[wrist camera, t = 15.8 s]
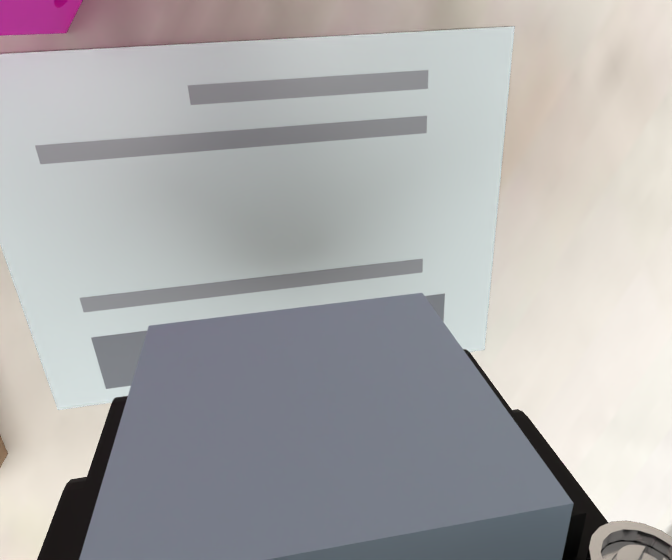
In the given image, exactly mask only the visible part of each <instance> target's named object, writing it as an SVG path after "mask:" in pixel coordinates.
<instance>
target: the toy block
mask: <svg viewBox="0 0 672 560" xmlns="http://www.w3.org/2000/svg"><path fill="white" fill-rule="evenodd" d="M82 1H83V0H0V35H26V34H55V33H66V32H67V30H68V28H69V26H70V24H71V22H72V20H73V18H74V16H75V15H76V13H77V11H78V9H79V7H80V5H81V3H82Z"/></svg>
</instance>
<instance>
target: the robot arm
mask: <svg viewBox="0 0 672 560" xmlns="http://www.w3.org/2000/svg"><path fill="white" fill-rule="evenodd" d="M463 350H464V351H465V353H466V354H467V356H468V357H469V358H470V360H471V361H472V362H473V364H474V365H475V367H476V368H477V369H478V371H479V372H480V374H481V375H482V376H483V378H484V379H485V381H486V382H487V383H488V385H489V386H490V388H491V389H492V390H493V392H494V393H495V395H496V396H497V397H498V399H499V400H500V401H501V403H502V404H503V406H504V407H505V408H506V410H507V411H508V413H509V414H510V415H511V417H512V418H513V420H514V421H515V422H516V424H517V425H518V427H519V428H520V429H521V431H522V432H523V433H524V435H525V436H526V438H527V439H528V440H529V442H530V443H531V445H532V446H533V447H534V449H535V450H536V452H537V453H538V454H539V456H540V457H541V459H542V460H543V461H544V463H545V464H546V465H547V467H548V468H549V470H550V471H551V472H552V474H553V475H554V477H555V478H556V479H557V481H558V482H559V484H560V485H561V486H562V488H563V489H564V491H565V492H566V493H567V495H568V496H569V498H570V499H571V500H572V502H573V503H574V504H573V509H572V513H571V518H570V523H569V528H568V533H567V538H566V542H565V547H564V552H563V557H562V560H672V537H671V536H669V535H668V534H666V533H664V532H663V531H661V530H659V529H656V528H654V527H651V526H648V525H646V524H643V523H637V522H632V521H614V522H610V523H608V522H607V520H606V519H605V518H604V516H603V515H602V514H601V512H600V511H599V510H598V509H597V507H596V506H595V505H594V503H593V502H592V501H591V499H590V498H589V497H588V495H587V494H586V493H585V491H584V490H583V489H582V487H581V486H580V485H579V484H578V482H577V481H576V480H575V478H574V477H573V476H572V474H571V473H570V472H569V470H568V469H567V468H566V466H565V465H564V464H563V463H562V461H561V460H560V459H559V457H558V456H557V455H556V453H555V452H554V451H553V449H552V448H551V447H550V445H549V444H548V443H547V441H546V440H545V439H544V438H543V436H542V435H541V434H540V432H539V431H538V430H537V428H536V427H535V426H534V424H533V423H532V422H531V420H530V419H529V418H528V417H527V416H526V415H525V414H524V413H523V412H522V411H520V410H518V409H517V410H511V408H510V407H509V405H508V404H507V403H506V401H505V400H504V399H503V397H502V396H501V395H500V393H499V392H498V390H497V389H496V388H495V386H494V385H493V384H492V382H491V381H490V380H489V378H488V377H487V375H486V374H485V373H484V371H483V370H482V369H481V367H480V366H479V365H478V363H477V362H476V360H475V359H474V358H473V356H472V355H471V354H470V352H469V351H468V350H466V349H463ZM127 397H128V396H123V397H116V398H114V399H113V401H112V404H111V407H110V410H109V413H108V416H107V419H106V422H105V425H104V428H103V431H102V434H101V437H100V440H99V443H98V446H97V449H96V452H95V455H94V458H93V461H92V464H91V467H90V470H89V473H88V476H87V477H83V478H77V479H71V480H70V481H69V482H68V483H67V484H66V486H65V488H64V490H63V493H62V495H61V498H60V500H59V503H58V506H57V508H56V511H55V514H54V516H53V519H52V522H51V524H50V527H49V530H48V532H47V535H46V538H45V540H44V543H43V546H42V548H41V551H40V554H39V556H38V559H37V560H79V558H80V555H81V552H82V548H83V545H84V542H85V538H86V535H87V532H88V528H89V525H90V522H91V518H92V515H93V511H94V508H95V505H96V501H97V498H98V495H99V491H100V488H101V485H102V481H103V478H104V474H105V471H106V468H107V464H108V461H109V458H110V454H111V451H112V448H113V444H114V441H115V438H116V434H117V431H118V427H119V424H120V421H121V417H122V414H123V411H124V407H125V404H126V401H127Z"/></svg>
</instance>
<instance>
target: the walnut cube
mask: <svg viewBox="0 0 672 560" xmlns="http://www.w3.org/2000/svg"><path fill="white" fill-rule="evenodd" d="M7 454H8V453H7V450H6V448H5V445H4V443H3V441H2V438H1V436H0V467H1V465H2V463H3V462H4V460H5V458H6V456H7Z"/></svg>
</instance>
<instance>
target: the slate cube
mask: <svg viewBox="0 0 672 560" xmlns="http://www.w3.org/2000/svg"><path fill="white" fill-rule="evenodd" d="M573 504H574V503H573V502H572V500H571V499H570V498H569V496H568V495H567V493H566V492H565V491H564V489H563V488H562V486H561V485H560V484H559V482H558V481H557V479H556V478H555V477H554V475H553V474H552V472H551V471H550V470H549V468H548V467H547V465H546V464H545V463H544V461H543V460H542V459H541V457H540V456H539V454H538V453H537V452H536V450H535V449H534V447H533V446H532V445H531V443H530V442H529V440H528V439H527V438H526V436H525V435H524V433H523V432H522V431H521V429H520V428H519V427H518V425H517V424H516V422H515V421H514V420H513V418H512V417H511V415H510V414H509V413H508V411H507V410H506V408H505V407H504V406H503V404H502V403H501V401H500V400H499V399H498V397H497V396H496V395H495V393H494V392H493V390H492V389H491V388H490V386H489V385H488V383H487V382H486V381H485V379H484V378H483V376H482V375H481V374H480V372H479V371H478V369H477V368H476V367H475V365H474V364H473V362H472V361H471V360H470V358H469V357H468V356H467V354H466V353H465V351H464V350H463V349H462V347H461V346H460V344H459V343H458V342H457V340H456V339H455V337H454V336H453V335H452V333H451V332H450V330H449V329H448V328H447V326H446V325H445V324H444V322H443V321H442V319H441V318H440V317H439V315H438V314H437V312H436V311H435V310H434V308H433V307H432V305H431V304H430V303H429V301H428V300H427V298H426V297H425V296H424V294H423V293H415V294H407V295H399V296H390V297H382V298H374V299H365V300H357V301H349V302H341V303H332V304H324V305H316V306H307V307H299V308H291V309H283V310H274V311H266V312H258V313H249V314H241V315H233V316H225V317H216V318H208V319H200V320H191V321H183V322H175V323H167V324H158V325H150V326H149V327H148V330H147V333H146V337H145V340H144V343H143V347H142V350H141V353H140V357H139V360H138V364H137V367H136V370H135V374H134V377H133V380H132V384H131V387H130V390H129V394H128V397H127V401H126V404H125V407H124V411H123V414H122V417H121V421H120V424H119V427H118V431H117V434H116V438H115V441H114V444H113V448H112V451H111V454H110V458H109V461H108V464H107V468H106V471H105V474H104V478H103V481H102V485H101V488H100V491H99V495H98V498H97V501H96V505H95V508H94V511H93V515H92V518H91V522H90V525H89V528H88V532H87V535H86V538H85V542H84V545H83V548H82V552H81V555H80V558H79V560H562V557H563V552H564V547H565V542H566V538H567V533H568V528H569V523H570V518H571V513H572V509H573Z"/></svg>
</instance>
